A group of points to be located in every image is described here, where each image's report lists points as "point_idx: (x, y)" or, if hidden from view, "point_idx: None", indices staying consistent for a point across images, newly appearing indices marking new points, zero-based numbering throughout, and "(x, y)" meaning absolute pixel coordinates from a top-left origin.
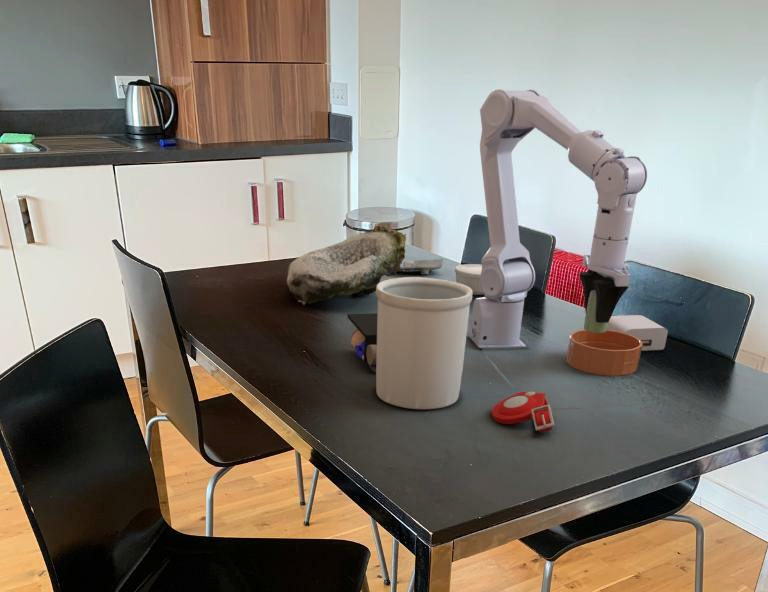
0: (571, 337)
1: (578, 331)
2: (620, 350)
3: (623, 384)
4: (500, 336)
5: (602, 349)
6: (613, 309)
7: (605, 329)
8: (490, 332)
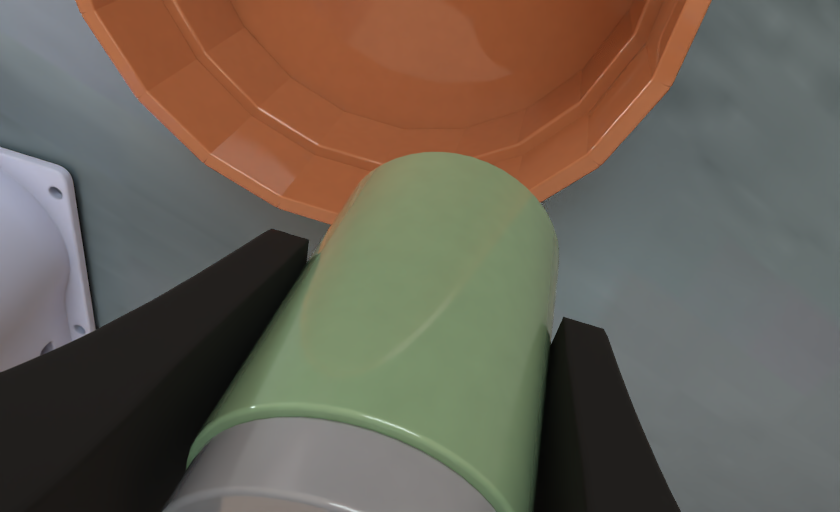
0: (260, 191)
1: (112, 37)
2: (688, 30)
3: (806, 3)
4: (38, 308)
5: (588, 167)
6: (648, 456)
7: (554, 245)
8: (24, 353)
